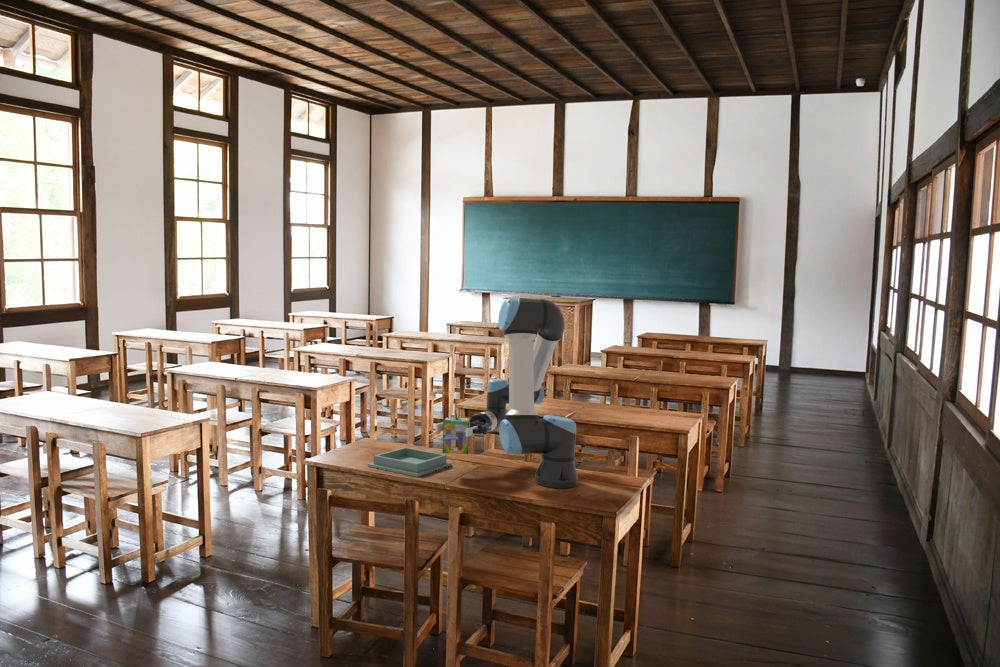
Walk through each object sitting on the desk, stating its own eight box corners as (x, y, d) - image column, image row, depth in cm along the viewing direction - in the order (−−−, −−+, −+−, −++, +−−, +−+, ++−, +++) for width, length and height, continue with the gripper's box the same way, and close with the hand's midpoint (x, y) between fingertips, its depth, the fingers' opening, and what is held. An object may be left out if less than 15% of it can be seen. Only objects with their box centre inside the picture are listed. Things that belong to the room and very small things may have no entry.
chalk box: (468, 455, 259) (470, 412, 259) (441, 453, 259) (443, 411, 259) (469, 449, 269) (471, 408, 268) (444, 448, 269) (446, 407, 268)
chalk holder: (451, 465, 279) (452, 454, 279) (417, 477, 260) (417, 465, 260) (403, 456, 290) (404, 445, 289) (367, 466, 270) (367, 455, 270)
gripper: (510, 437, 274) (480, 445, 255) (455, 428, 285) (422, 436, 266) (511, 416, 273) (481, 423, 254) (455, 409, 285) (423, 415, 266)
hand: (451, 430), depth 260 cm, fingers closed on chalk box, 12 cm apart
